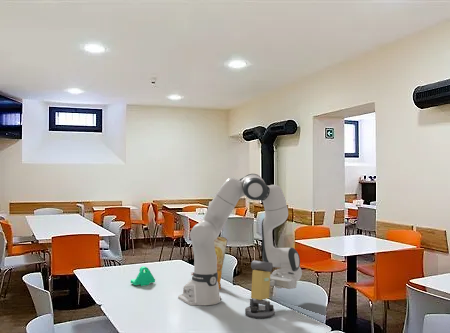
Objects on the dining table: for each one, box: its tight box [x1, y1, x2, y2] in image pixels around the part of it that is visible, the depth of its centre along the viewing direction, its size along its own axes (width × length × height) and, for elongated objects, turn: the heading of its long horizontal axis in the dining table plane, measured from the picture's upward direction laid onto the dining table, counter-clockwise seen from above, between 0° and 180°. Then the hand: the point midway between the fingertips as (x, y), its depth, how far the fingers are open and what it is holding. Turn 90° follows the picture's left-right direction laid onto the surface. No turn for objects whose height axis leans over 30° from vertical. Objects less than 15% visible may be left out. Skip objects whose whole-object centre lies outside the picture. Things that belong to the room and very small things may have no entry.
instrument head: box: [250, 259, 274, 306], centre depth 190 cm, size 9×7×18 cm
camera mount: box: [130, 265, 156, 287], centre depth 243 cm, size 12×8×10 cm, turn 124°
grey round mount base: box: [244, 298, 276, 320], centre depth 189 cm, size 13×13×6 cm
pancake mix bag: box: [214, 235, 228, 290], centre depth 238 cm, size 7×19×28 cm, turn 34°
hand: (265, 283), depth 193 cm, fingers closed, pressing on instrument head
